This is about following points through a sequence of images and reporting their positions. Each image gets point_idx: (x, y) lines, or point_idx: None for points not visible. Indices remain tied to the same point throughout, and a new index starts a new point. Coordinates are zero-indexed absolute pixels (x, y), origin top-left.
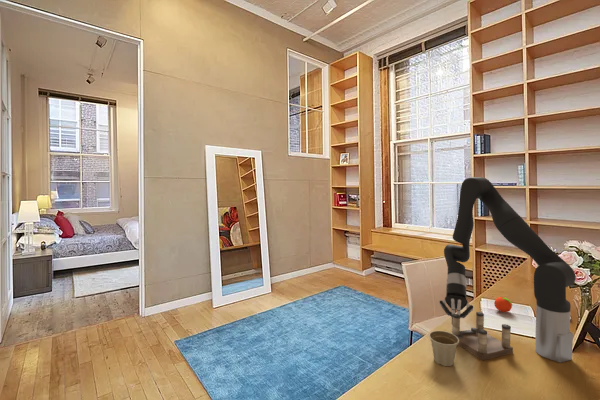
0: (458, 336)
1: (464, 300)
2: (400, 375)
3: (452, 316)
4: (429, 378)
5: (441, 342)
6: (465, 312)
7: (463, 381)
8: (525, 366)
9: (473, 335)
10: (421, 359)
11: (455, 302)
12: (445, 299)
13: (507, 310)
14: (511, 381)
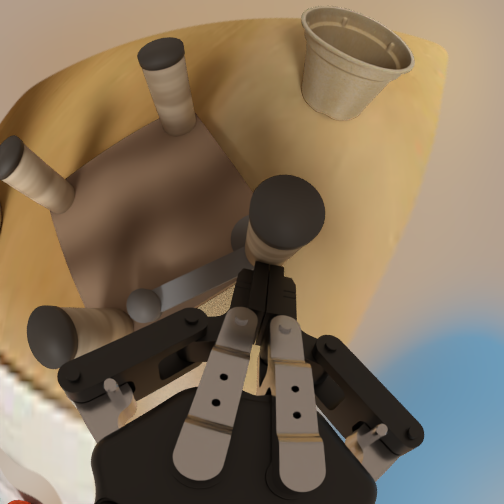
0: None
1: (123, 470)
2: None
3: (320, 209)
4: None
5: (357, 91)
6: (162, 333)
7: (284, 39)
8: (71, 131)
9: (161, 273)
10: (392, 105)
11: (256, 454)
12: (373, 477)
13: (21, 501)
14: None
